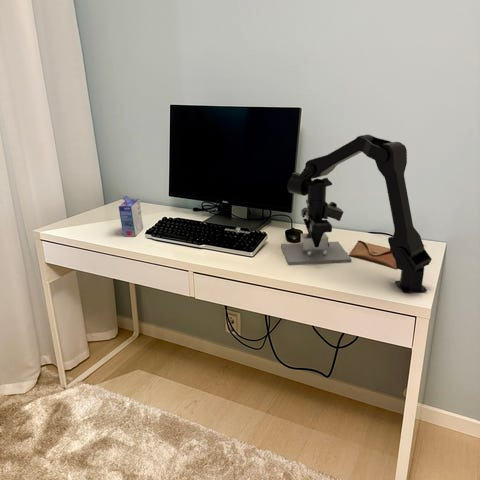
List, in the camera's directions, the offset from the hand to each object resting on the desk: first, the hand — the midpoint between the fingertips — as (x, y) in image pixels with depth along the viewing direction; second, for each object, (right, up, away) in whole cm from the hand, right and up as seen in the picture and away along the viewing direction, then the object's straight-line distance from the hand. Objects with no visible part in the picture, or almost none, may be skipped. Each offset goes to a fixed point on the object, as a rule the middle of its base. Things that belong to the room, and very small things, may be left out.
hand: (314, 244), depth 144 cm
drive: (0, -1, 0) cm, 1 cm away
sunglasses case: (+19, -5, -3) cm, 20 cm away
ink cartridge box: (-66, +4, +27) cm, 72 cm away
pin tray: (0, -3, +1) cm, 4 cm away
